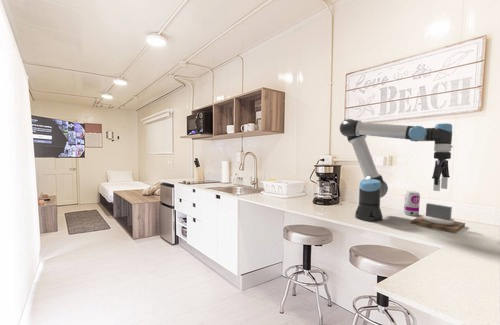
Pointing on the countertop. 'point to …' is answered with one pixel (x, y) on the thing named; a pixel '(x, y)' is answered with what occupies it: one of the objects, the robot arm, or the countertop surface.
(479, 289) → the countertop surface
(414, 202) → the supplement can
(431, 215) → the dial
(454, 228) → the dial base
